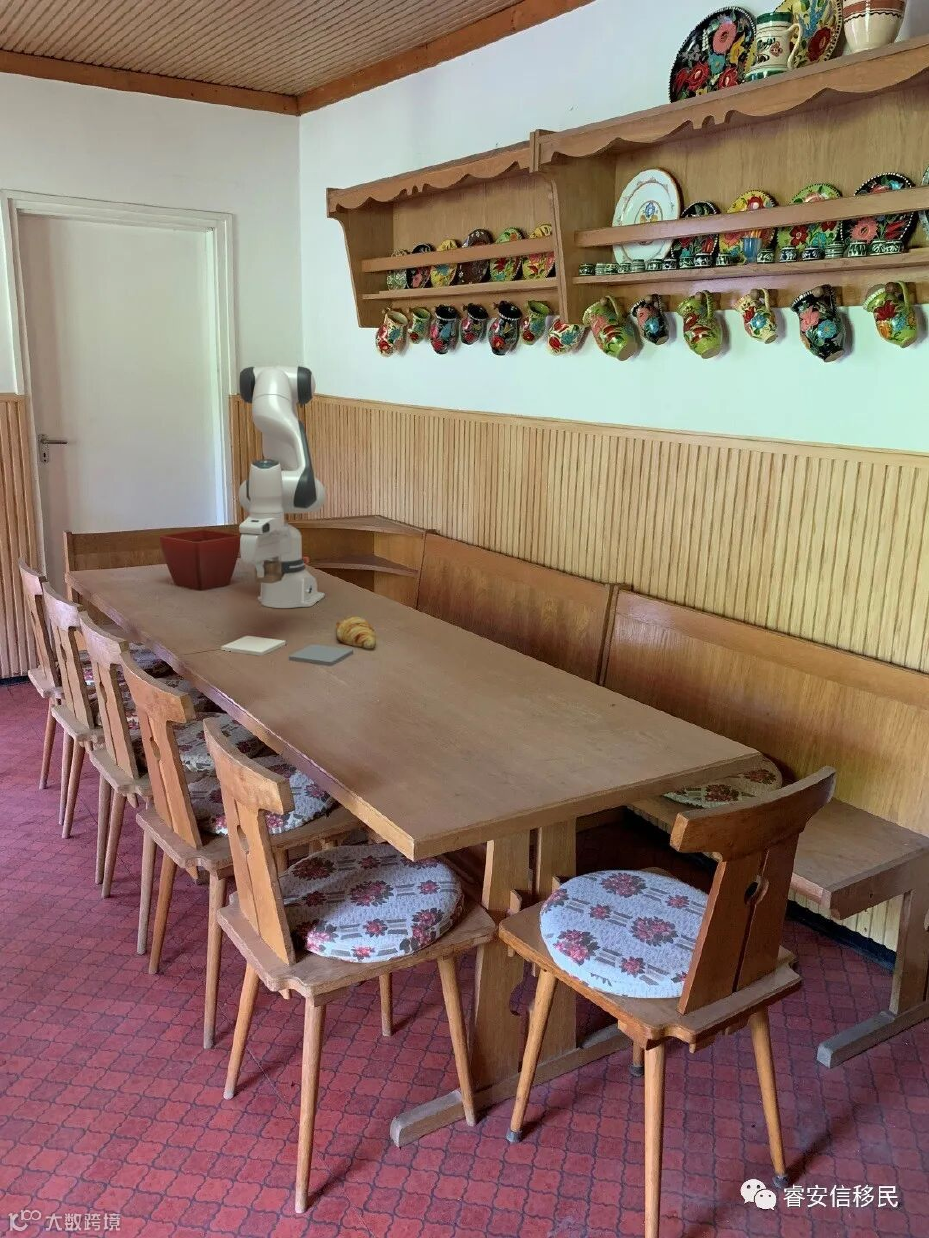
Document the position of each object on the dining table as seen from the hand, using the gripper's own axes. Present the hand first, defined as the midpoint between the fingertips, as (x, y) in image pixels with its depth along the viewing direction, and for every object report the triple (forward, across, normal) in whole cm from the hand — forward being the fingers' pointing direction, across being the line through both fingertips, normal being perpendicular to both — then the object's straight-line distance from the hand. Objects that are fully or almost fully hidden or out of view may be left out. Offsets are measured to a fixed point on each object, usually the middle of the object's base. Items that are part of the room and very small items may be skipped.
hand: (268, 575), depth 266 cm
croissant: (+18, -10, +20) cm, 29 cm away
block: (+2, 0, 0) cm, 2 cm away
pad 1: (+18, +7, -1) cm, 19 cm away
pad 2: (+18, +7, +19) cm, 28 cm away
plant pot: (+17, -50, -55) cm, 76 cm away
